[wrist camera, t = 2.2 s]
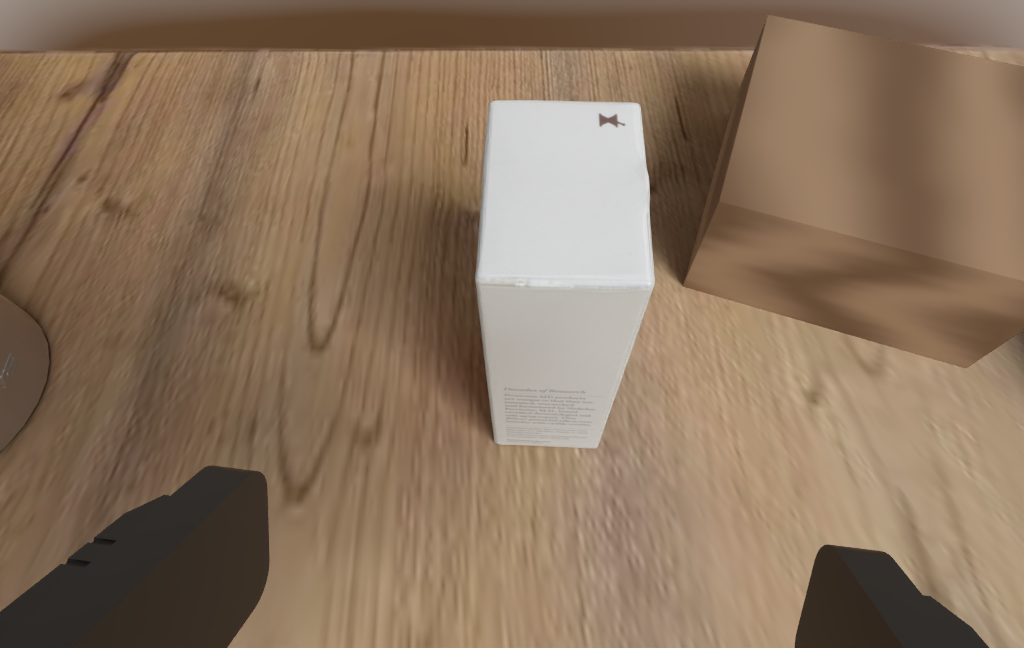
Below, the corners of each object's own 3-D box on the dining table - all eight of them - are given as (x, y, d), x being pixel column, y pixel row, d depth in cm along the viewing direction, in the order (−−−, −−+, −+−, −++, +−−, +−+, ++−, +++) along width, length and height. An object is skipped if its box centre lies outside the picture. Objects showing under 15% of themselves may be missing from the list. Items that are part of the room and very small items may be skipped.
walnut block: (681, 289, 28) (719, 201, 22) (728, 117, 33) (768, 14, 28) (962, 371, 26) (1075, 294, 20) (962, 172, 31) (1052, 72, 26)
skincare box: (498, 316, 27) (487, 92, 16) (595, 319, 27) (646, 95, 16) (490, 450, 24) (469, 279, 13) (599, 454, 24) (664, 285, 13)
